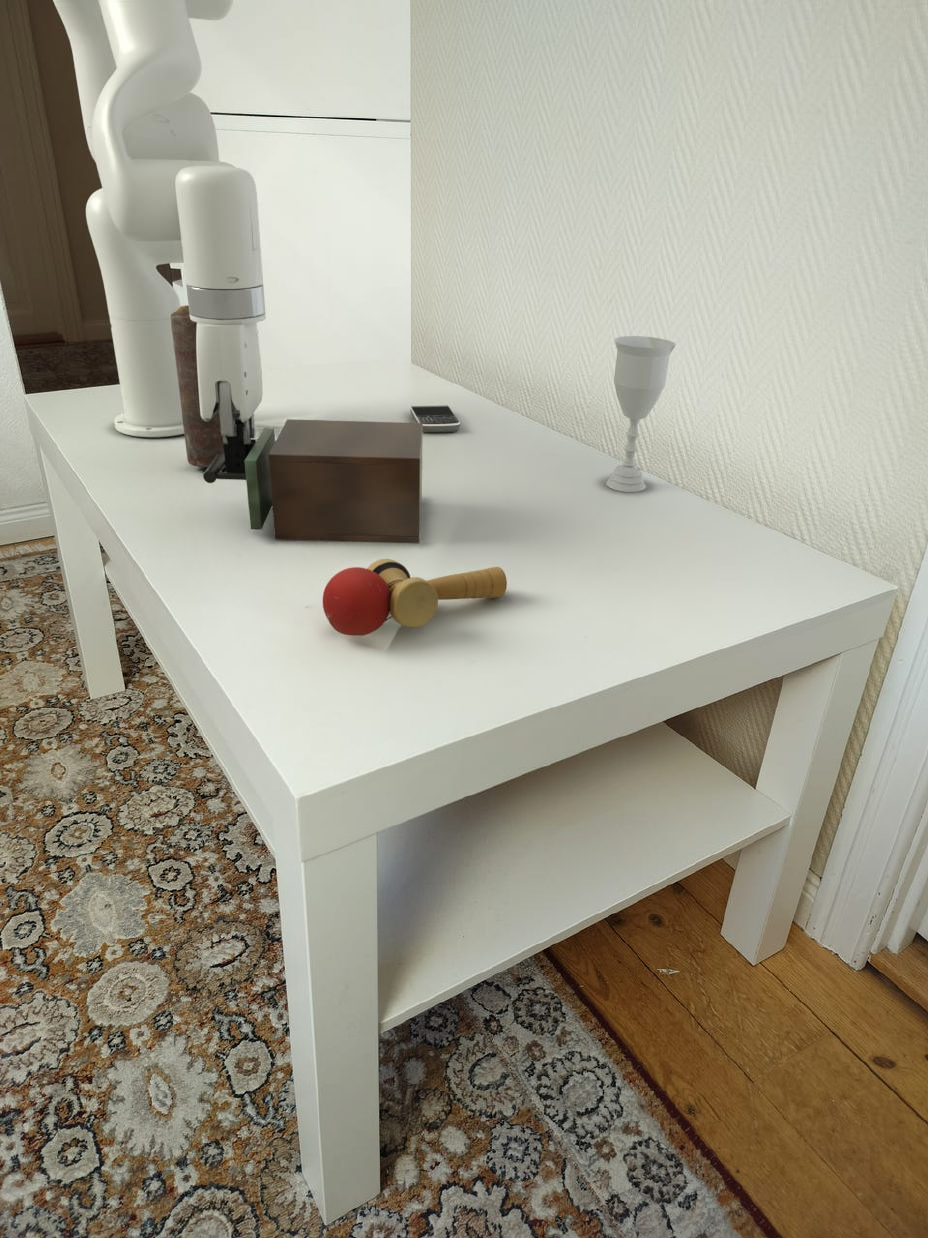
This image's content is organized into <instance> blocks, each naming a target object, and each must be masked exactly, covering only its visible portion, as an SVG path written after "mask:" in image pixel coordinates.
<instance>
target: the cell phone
mask: <svg viewBox="0 0 928 1238" xmlns="http://www.w3.org/2000/svg"><path fill="white" fill-rule="evenodd" d="M409 411H410V414H411V415H412V417H413V420H414V421H415V423H422V424H423V433H451V432H458V431H459V429H460V427H461V422H460V421H459V419H458V418H457V417H456V415H455V414H454V412H453V410H452V409H451V408H450V406H449V405H448V404H447V405H410V407H409Z"/></svg>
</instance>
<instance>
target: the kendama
mask: <svg viewBox="0 0 928 1238" xmlns="http://www.w3.org/2000/svg"><path fill="white" fill-rule="evenodd" d="M507 586H508V581H507V576H506V573H505V571H504V569H503V568H502V567H499V566H493V567H492V566H491V567H487V568H483V569H477V570H473V571H467V572H462V573H456V574H455V573H454V574H450V575H443V576H439V577H435V578H431V579H427V580H426V579H424V578H421V577H417V576H414V577H411V574H410V572H409V570H408V569H407V567H406V566H405V565H404V564H402V563H401V562H398V561H397V560H394V559H391V558H381V559H378V560H376V561H374V562H372V563H370V565H369V566H368V567H367V568H365V567H360V566H359V567H358V566H356V567H355V566H353V567H348V568H344V569H343V570H340V571H338V572H337V573H336V574H334V575H333V576H332V577H331V578H330V579H329V581H328V582H327V584H326V585H325V587H324V589H323V594H322V608H323V612H324V615H325V617H326V620H327V621H328V622H329V625H330V626H331V627H332V629H334V630H335V631H336V632H337V633H339V634H341V635H344V636H351V637H361V636H366V635H370V634H372V633H374V632H376V631H377V630H378V629H380V628H381V627H382V626H383V625H384V624H385V623H386V622H387V621H388V620H390V619H391V618H392V619H393V620H394V621H395V622H397V624H400V625H402V626H404V627H406V628H409V629H410V628H411V629H413V628H419V627H422V626H424V625H426V624H427V623H428V622H429V621H430V620H431V619H432V618H433V617H434V615H435V614H436V612H437V609H438V605H439V601H441V600H442V601H445V600H446V601H447V600H448V601H449V600H466V599H468V600H469V599H484V598H486V599H489V598H490V599H492V598H493V599H495V598H497V599H498V598H502V597H504V595H505V594H506V591H507ZM390 614H391V616H389V615H390Z"/></svg>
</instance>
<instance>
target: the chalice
mask: <svg viewBox="0 0 928 1238" xmlns="http://www.w3.org/2000/svg"><path fill="white" fill-rule="evenodd" d="M613 341H614V344H615V347H616V350H617V351H616V359H615V367H614V374H613V384H614V389H615V393H616V397H617V400H618V403H619V406H620V408H621V412H622V415H623V416H624V417H626V418H628V419H629V427H628V430H627V432H626V433H625V434H626V437H627V443H626V445H625V446H624V447H623V450H624V451H625V458H624V461H623V462H622V463H621V464H618V465H616V467H615V468H614V469H613V470H612V473H611V474H610V476H609V478H608V479H607V481H606V482H605V484H606V486H607V487H608V488H610V489H612V490H615V491H618V492H622V493H638V492H642V491H644V490H646V489H647V485H646V484H645V482H644V480H645V478H644V476H643V471H642V470H641V468H639V467H638V466H636V464H635V463H634V456H635V454H636V452H637V451H639V448H638V447H637V444H636V441H637V439H638V437H639V436H640V434H639V429H638V425H639V422H640V420H642V419H646V418H647V417H648V416H649V414H650V413H651V411H652V410H653V408H654V407H655V405H656V404H657V402H658V401H659V399H660V397H661V395H662V393H663V391H664V389H665V387H666V383H667V375H668V368H669V363H670V362H669V361H670V355H671V353H672V352H673V350H674V349H675V347H676V345H677V344H676V343H675V342H674V341H671V340H668V339H665V338H659V337H653V336H643V335H641V336H640V335H625V336H617V337H615V338H614V339H613Z"/></svg>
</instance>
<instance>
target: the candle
mask: <svg viewBox="0 0 928 1238" xmlns="http://www.w3.org/2000/svg"><path fill="white" fill-rule="evenodd" d="M170 318H171V327H172V335H173V343H174V351H175V359H176V368H177V376H178V384H179V392H180V400H181V410H182V420H183V427H184V434H183V436H184V442H185V451H186V452H185V453H186V458H187V462H188V464H189V465H191V466H193V467H200V468H206V469H207V468H208V467H209V465H210V464H211V462H212V461H213V460H214V458H215V457H216V455H217V454H219V453H223V454H224V445H223V437H222V436H221V423H220V416H219V410H218V411H217V413H216V414H215V415H214V416H213V418H212V419H211V420H210V421H208V422H207V421H204V420H203V419H202V417H201V414H200V401H199V387H198V372H197V352H196V331H197V322H194V321H192V320H191V319H190V313H189V305H186V304H185V305H181V307H179V308H178V310H177V311H176V312H173V313H172V314H171V317H170ZM224 468H226V465H225V467H224Z"/></svg>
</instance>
